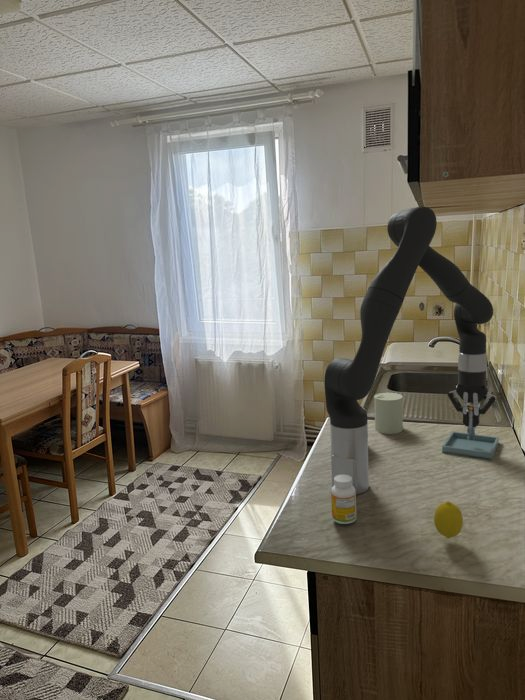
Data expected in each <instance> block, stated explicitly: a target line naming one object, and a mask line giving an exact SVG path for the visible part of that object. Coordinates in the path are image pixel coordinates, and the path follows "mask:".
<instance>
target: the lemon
mask: <svg viewBox="0 0 525 700" xmlns="http://www.w3.org/2000/svg"><path fill="white" fill-rule="evenodd" d="M463 519H464V518H463V513H462V512H461V509H460V507H458V505H456V504H455V503H453V502H451V501H448V500H447V501H445V502H441V503H440V504H438V506H437V507H436V508H435V510H434V516H433V522H434V527H435V530H436V531H437V532H438V533H439V534H440V535H441V536H443V537H445V538H446V539H450V538H454V537H456V536H458V535H459V533H461V531H462V528H463V526H464V521H463Z"/></svg>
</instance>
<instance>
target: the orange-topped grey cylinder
mask: <svg viewBox="0 0 525 700" xmlns="http://www.w3.org/2000/svg"><path fill="white" fill-rule="evenodd" d="M473 415H474V404H471V405H470V404H469V405H468V427H467V426H466V427H467V429H466V430H467V432H466V433H467V439H468V440H475V435H476V428H475V427H473Z"/></svg>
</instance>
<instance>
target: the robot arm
mask: <svg viewBox="0 0 525 700" xmlns="http://www.w3.org/2000/svg"><path fill="white" fill-rule="evenodd" d="M386 231H387V234H388V237H389V239H390V240H391V242H392V243H393V244H394V245H396V246H397V249H396V251H395V252H394V254H393V256H392V257H391V258H390V259H389V261H387V263H386V264H385V265H384V266H383V267H382V268H381V269H380V270H379V272H378V273H377V274H376V275H375V276H374V277H373V279H372V280H371V282H370V284H369V286H368V287H367V290H366V292H365V295H364V296H363V299H362V303H361V305H360V311H359V313H360V314H359V316H360V327H361V340H360V344H359V346H358V348H357V352H356V354H355V356H354V357H353V359H350V358H343V357H337V358H335V359H333V360H331V361H330V362H329V363H328V365H327V366H326V368H325V371H324V372H325V373H324V379H323V382H324V384H323V385H324V395H325V408H326V412H327V414H328V416H329V423H330V428H329V429H330V453H331V456H330V457H331V458H330V459H331V462H330V463H331V464H330V465H331V466H330V467H331V488H332V487H333V486H334V477H335V476H337V475H349V476H351V477H352V486H354V488H355V490H356V496H357V495H361V494H363V493H365V492H367V491H368V490H369V487H370V486H369V485H370V483H369V481H370V480H369V479H370V478H369V477H370V476H369V474H370V473H369V440H368V439H369V438H368V437H369V434H368V433H369V431H368V430H369V429H368V428H369V427H368V423H369V422H368V413H367V410H366V409H365V410H364V409H363V408H364V407H362V405H361V404H360V403H359V402H358V401H360V400H363V399H364V398H366V397H367V396H368V394H369V393H370V391H372V388H373V386H374V384H375V382H376V381H375V380H376V378H377V375H378V371H379V368H380V364H381V361H382V357H383V354H384V351H385V347H386V345H387V342H388V339H389V337H390V334H391V332H392V329H393V326H394V325H395V322H396V320H397V318H398V315H399V313H400V310H401V309H402V308H401V307H402V305H403V303H404V302H405V297H406V295H407V293H408V291H409V288H410V285H411V283H412V281H413V278H414V276H415V274H416V272H417V269H418V267H420V268H421V269H422V271H424V272H425V274H427V275H428V277H429V278H430V279H431V280H432V281H433V283H435V284H436V286H437V287H438V289H439V290H440V291H441V292H442V294H443V295H444V296H445V298H446V299H447V300H448V301H450V302H452V303H454V304H455V305H454V308H453V317H454V322H455V326H456V330H457V334H458V337H459V343H458V344H459V346H458V347H459V348H458V350H459V353H458V354H459V355H458V359H457V386H456V388H455V390H450V391H449V392H448V393H447V397H448V398H449V401H450V402H451V403H452V405H453V407H454V409H455V410H456V411H457V412H460V413H461V414H462V423H463V425H464V427H468V405H470V404H471V403H472V404H473V405H474V415H473V427H475V429H476V428H477V426H479V424H480V415H485V414H486V413H487V412H488V410H489V409H490V407H491V406H492V405H493V404H494V402H495V400H496V399H497V395H496V394H492V393H490V392H489V390H488V386H487V368H488V363H487V362H488V359H487V335H486V334H485V333H484V332H483V331H480V330H479V329H478V327H477V325H484V324H487V323H488V322H490V321H491V319H492V318H493V316H494V307H493V304H492V302H491V300H490V299H489V298H488V297H487V296H486V295H485V294H484V293H482V292H481V291H480V290H479V289H477V287H475V286H474V285H472V284H471V283H470V281H469V280H468V278H467V277H466V276H465V275H464V273H463V271H461V269H460V268H459V267H458V266H457V265H456V264H455V263H454V262H452V261H451V260H449V259H448V258H446V257H445V256H443V255H442V254H440V253H439V252H438V251H436V250H435V249H433V248H432V247H431V246H430V244H431V243H432V240H433V238H434V236H435V234H436V231H437V216H436V214H435V211H434V210H433V209H431V207H428V206H415V207H411V208H407V209H404V210H400V211H398V212H395V213H394V214H392V215H391V216H390V218H389V219H388V222H387V229H386ZM458 396H459V398H460V399H461V400H462V404H461V402H460V401H459V399H458V398H457V397H458ZM485 397H486V400H485V401H487V402H486V403H485V404H484V406H483V407H482V408H481V402H482V400H483V399H484V398H485Z"/></svg>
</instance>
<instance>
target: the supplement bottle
mask: <svg viewBox="0 0 525 700" xmlns="http://www.w3.org/2000/svg"><path fill="white" fill-rule="evenodd" d="M330 491H331V492H330V494H331V518H332V520H333V521H334V522H335V523H337V524H340V525H341V524H342V525H348V524H352V523H354V522H356V520H357V499H356V498H357V497H356V496H357V495H356V490H355V488H354V486H352V477H351V476H349V475H337V476H335V477H334V486H333V487H332V486H331V489H330Z"/></svg>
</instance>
